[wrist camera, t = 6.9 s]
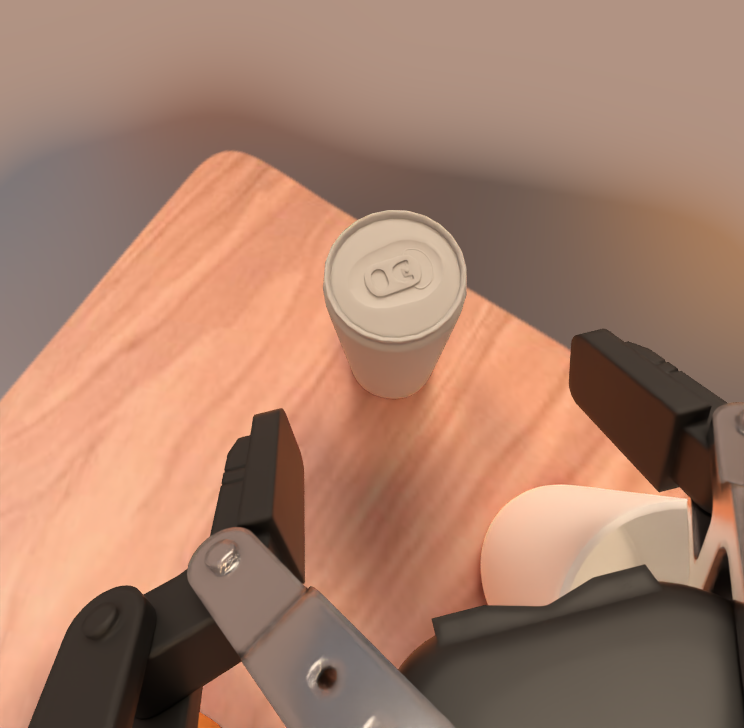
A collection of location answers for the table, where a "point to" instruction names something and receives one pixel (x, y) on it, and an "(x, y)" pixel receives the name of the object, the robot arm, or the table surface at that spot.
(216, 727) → the flower pot
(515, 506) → the mug
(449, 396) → the table surface
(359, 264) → the beverage can
